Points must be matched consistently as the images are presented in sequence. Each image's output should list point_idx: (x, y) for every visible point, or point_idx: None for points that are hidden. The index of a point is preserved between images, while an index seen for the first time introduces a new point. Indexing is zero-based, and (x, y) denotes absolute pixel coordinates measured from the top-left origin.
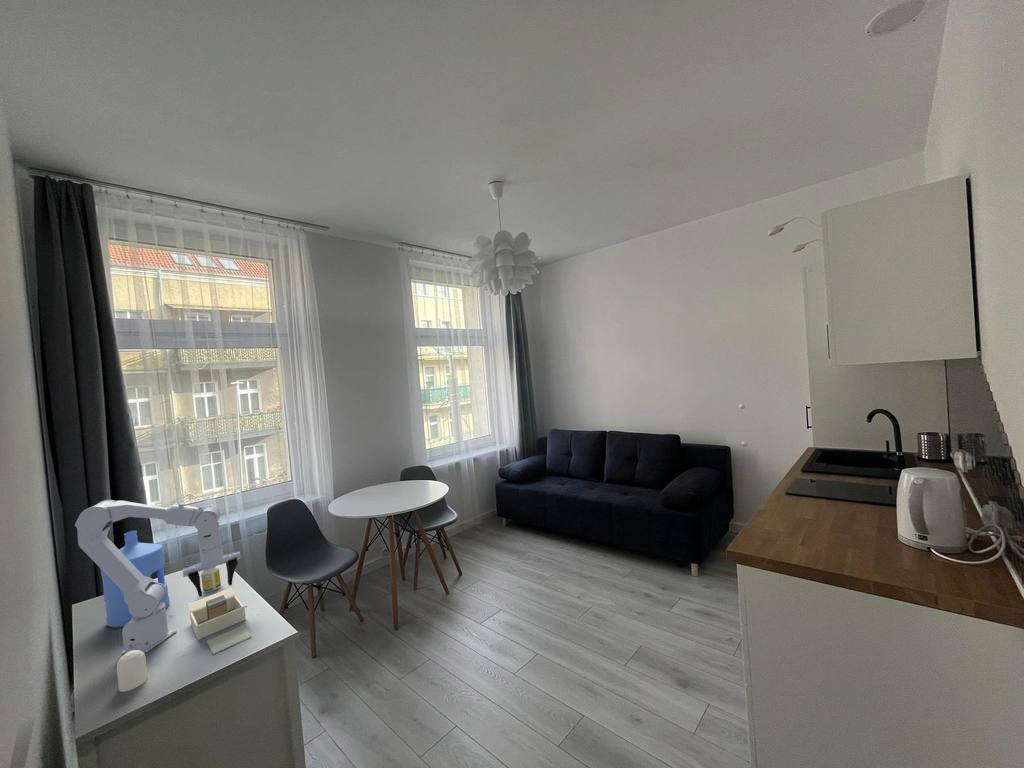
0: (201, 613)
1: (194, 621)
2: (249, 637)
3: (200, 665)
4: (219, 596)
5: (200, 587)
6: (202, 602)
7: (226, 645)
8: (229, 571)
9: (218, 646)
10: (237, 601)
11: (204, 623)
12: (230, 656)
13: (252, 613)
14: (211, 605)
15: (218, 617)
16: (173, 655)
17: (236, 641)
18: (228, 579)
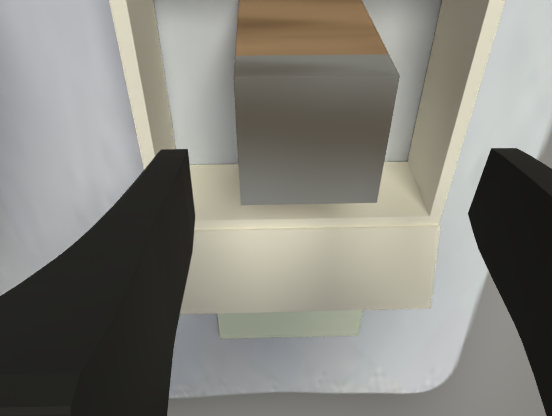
0: None
1: (143, 151)
2: (350, 333)
3: (177, 355)
4: (362, 79)
5: (175, 322)
6: None
7: (270, 328)
8: (548, 408)
9: (244, 314)
10: (465, 79)
11: (198, 312)
12: (266, 374)
13: (474, 128)
14: (262, 203)
15: (272, 311)
16: (65, 222)
17: (305, 331)
18: (510, 229)
